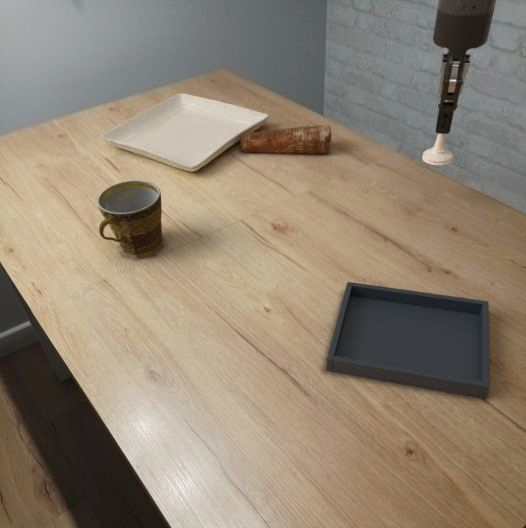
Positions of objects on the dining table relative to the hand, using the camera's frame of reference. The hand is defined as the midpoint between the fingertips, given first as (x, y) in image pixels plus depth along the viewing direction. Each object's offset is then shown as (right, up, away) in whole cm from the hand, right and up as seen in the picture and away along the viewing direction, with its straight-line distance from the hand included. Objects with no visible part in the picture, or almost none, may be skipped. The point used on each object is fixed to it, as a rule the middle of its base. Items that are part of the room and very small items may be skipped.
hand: (442, 128), depth 84 cm
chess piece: (0, -4, +4) cm, 5 cm away
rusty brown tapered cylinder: (-24, +6, +26) cm, 36 cm away
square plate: (-46, +11, +32) cm, 57 cm away
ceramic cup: (-50, -20, +4) cm, 54 cm away
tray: (-9, -35, -13) cm, 39 cm away
